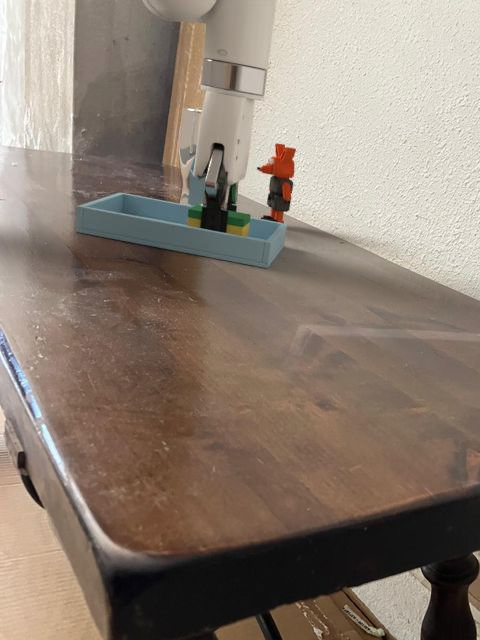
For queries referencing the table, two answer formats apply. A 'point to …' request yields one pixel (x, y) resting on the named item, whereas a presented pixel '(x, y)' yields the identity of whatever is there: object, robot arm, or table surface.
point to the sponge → (235, 225)
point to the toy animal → (279, 182)
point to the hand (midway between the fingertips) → (216, 236)
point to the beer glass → (190, 158)
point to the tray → (177, 229)
